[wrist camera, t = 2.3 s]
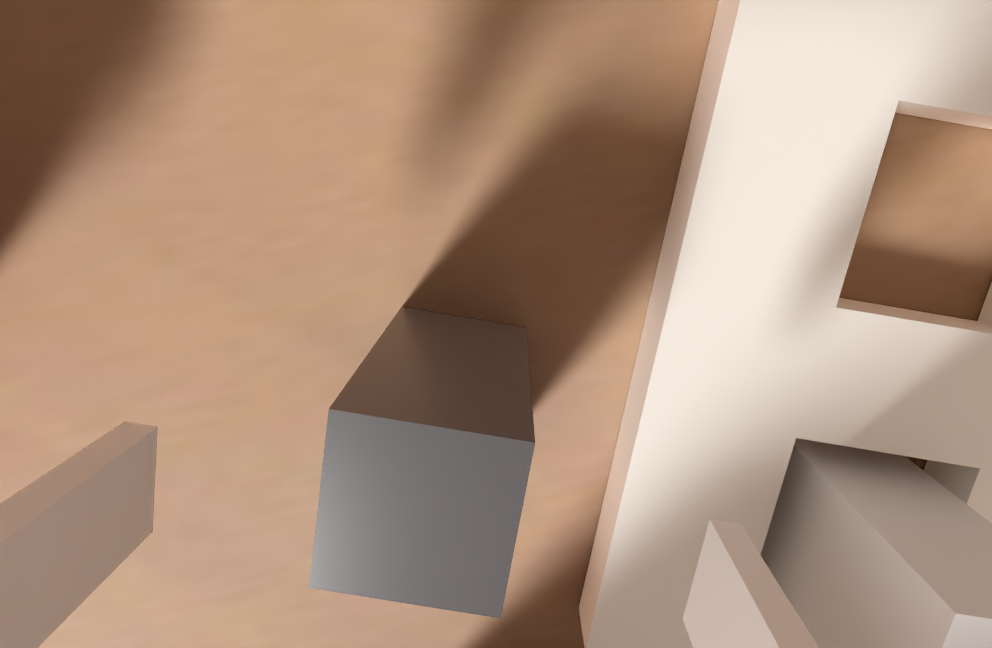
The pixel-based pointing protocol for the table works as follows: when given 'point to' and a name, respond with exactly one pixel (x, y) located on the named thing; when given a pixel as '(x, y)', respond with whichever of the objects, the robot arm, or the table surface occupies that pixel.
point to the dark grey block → (428, 466)
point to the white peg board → (805, 348)
